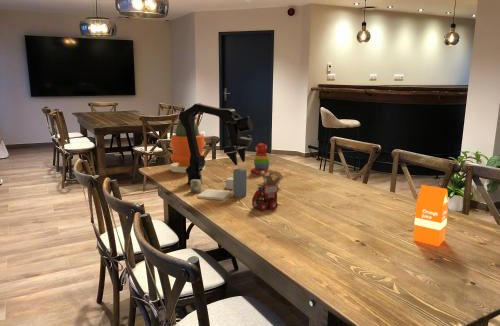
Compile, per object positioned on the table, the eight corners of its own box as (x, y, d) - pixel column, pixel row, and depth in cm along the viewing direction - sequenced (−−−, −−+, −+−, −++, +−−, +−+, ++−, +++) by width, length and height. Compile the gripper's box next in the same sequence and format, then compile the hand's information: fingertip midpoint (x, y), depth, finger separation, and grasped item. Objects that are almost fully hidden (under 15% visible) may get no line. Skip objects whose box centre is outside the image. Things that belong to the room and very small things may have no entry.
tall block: (233, 195, 204) (233, 169, 201) (239, 193, 207) (239, 168, 205) (239, 197, 201) (240, 171, 198) (246, 195, 204) (246, 169, 202)
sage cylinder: (189, 193, 208) (189, 181, 207) (192, 190, 213) (192, 179, 211) (198, 193, 207) (198, 182, 205) (202, 191, 211) (202, 179, 210)
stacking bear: (249, 171, 257) (250, 142, 253) (264, 169, 261) (264, 141, 257) (257, 174, 247) (257, 145, 243) (272, 173, 251) (273, 144, 247)
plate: (197, 197, 200) (197, 195, 199) (206, 190, 212) (206, 188, 212) (223, 200, 196) (223, 198, 196) (231, 192, 209) (231, 190, 209)
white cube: (225, 188, 217) (225, 179, 216) (228, 186, 221) (228, 177, 220) (234, 189, 216) (235, 180, 214) (237, 187, 220) (237, 177, 219)
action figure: (274, 175, 232) (287, 180, 219) (261, 189, 230) (273, 195, 217) (263, 162, 229) (276, 167, 215) (250, 177, 226) (262, 182, 213)
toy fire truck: (248, 207, 186) (249, 185, 184) (273, 204, 191) (274, 182, 189) (255, 212, 180) (256, 189, 178) (280, 208, 185) (281, 186, 183)
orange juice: (419, 234, 157) (424, 182, 152) (444, 240, 151) (450, 186, 147) (412, 240, 151) (417, 186, 147) (438, 246, 145) (444, 191, 141)
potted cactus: (168, 167, 264) (167, 112, 257) (203, 165, 271) (202, 111, 264) (173, 175, 244) (171, 115, 237) (210, 172, 251) (209, 114, 244)
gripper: (240, 133, 200) (246, 164, 202) (254, 128, 217) (261, 157, 218) (220, 136, 204) (226, 167, 206) (236, 132, 221) (242, 160, 223)
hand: (240, 163), depth 213 cm, fingers open, 9 cm apart
